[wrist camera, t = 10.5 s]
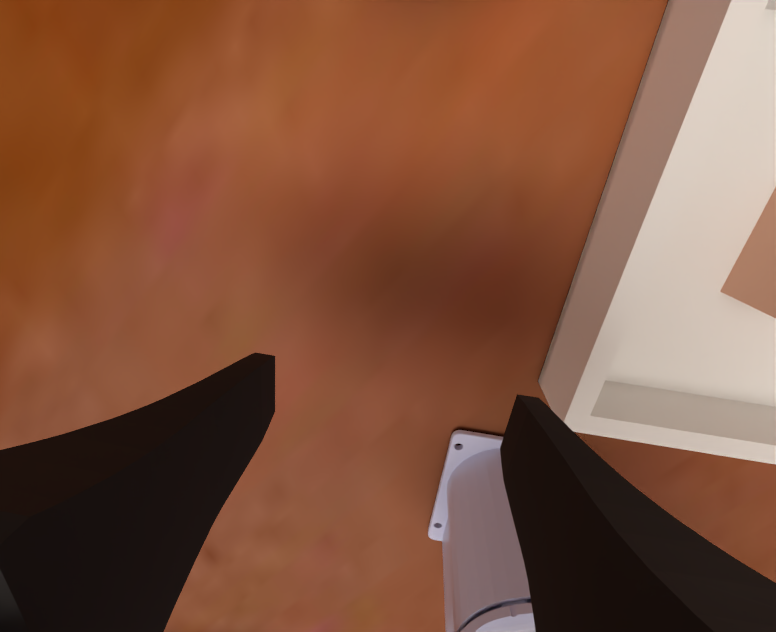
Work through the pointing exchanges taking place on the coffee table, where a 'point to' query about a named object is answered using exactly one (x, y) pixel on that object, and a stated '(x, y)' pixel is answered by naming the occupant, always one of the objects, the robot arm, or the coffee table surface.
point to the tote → (679, 250)
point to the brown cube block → (757, 265)
